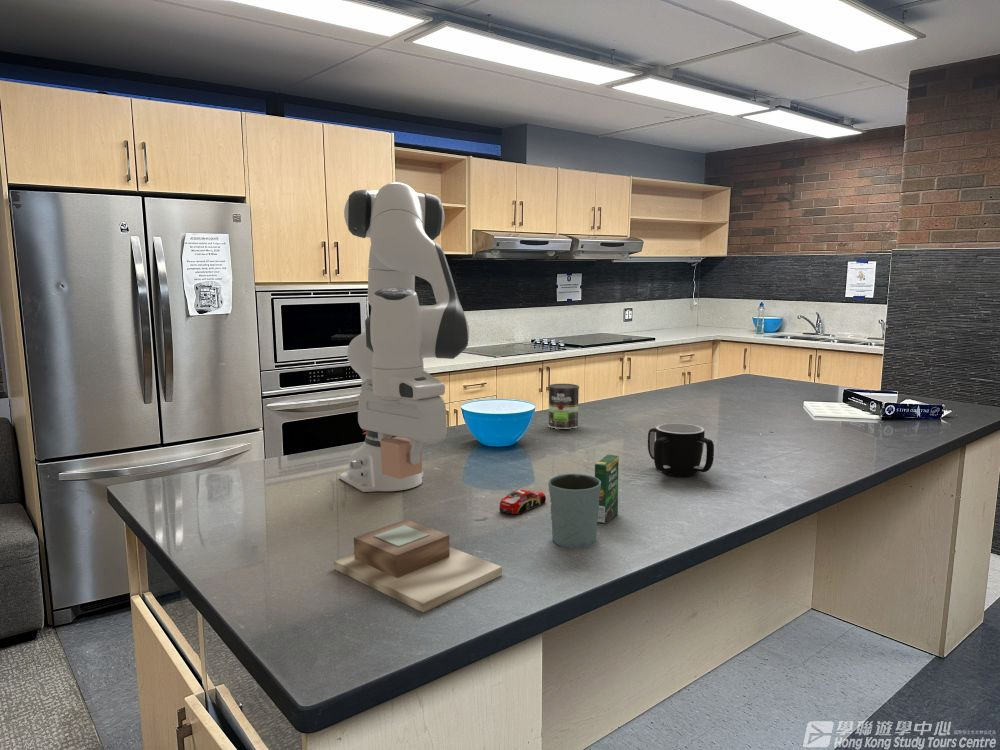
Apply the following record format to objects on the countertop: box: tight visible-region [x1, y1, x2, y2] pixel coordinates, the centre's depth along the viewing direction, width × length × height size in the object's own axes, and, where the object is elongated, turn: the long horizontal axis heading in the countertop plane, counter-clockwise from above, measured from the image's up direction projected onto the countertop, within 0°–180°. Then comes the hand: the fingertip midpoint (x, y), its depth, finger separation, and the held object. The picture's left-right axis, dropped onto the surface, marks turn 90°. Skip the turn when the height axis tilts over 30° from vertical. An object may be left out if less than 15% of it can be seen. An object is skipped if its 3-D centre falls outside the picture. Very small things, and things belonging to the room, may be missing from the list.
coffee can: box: [548, 383, 580, 430], centre depth 233 cm, size 10×10×14 cm
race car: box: [499, 489, 547, 515], centre depth 154 cm, size 13×5×4 cm, turn 140°
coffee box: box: [594, 454, 620, 526], centre depth 145 cm, size 8×3×13 cm, turn 151°
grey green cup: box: [548, 473, 601, 549], centre depth 134 cm, size 10×10×12 cm
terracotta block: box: [380, 437, 423, 479], centre depth 121 cm, size 5×5×6 cm
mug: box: [647, 422, 715, 478], centre depth 179 cm, size 16×16×12 cm
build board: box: [333, 519, 503, 614], centre depth 121 cm, size 24×18×6 cm
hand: (401, 460), depth 121 cm, fingers closed on terracotta block, 5 cm apart
